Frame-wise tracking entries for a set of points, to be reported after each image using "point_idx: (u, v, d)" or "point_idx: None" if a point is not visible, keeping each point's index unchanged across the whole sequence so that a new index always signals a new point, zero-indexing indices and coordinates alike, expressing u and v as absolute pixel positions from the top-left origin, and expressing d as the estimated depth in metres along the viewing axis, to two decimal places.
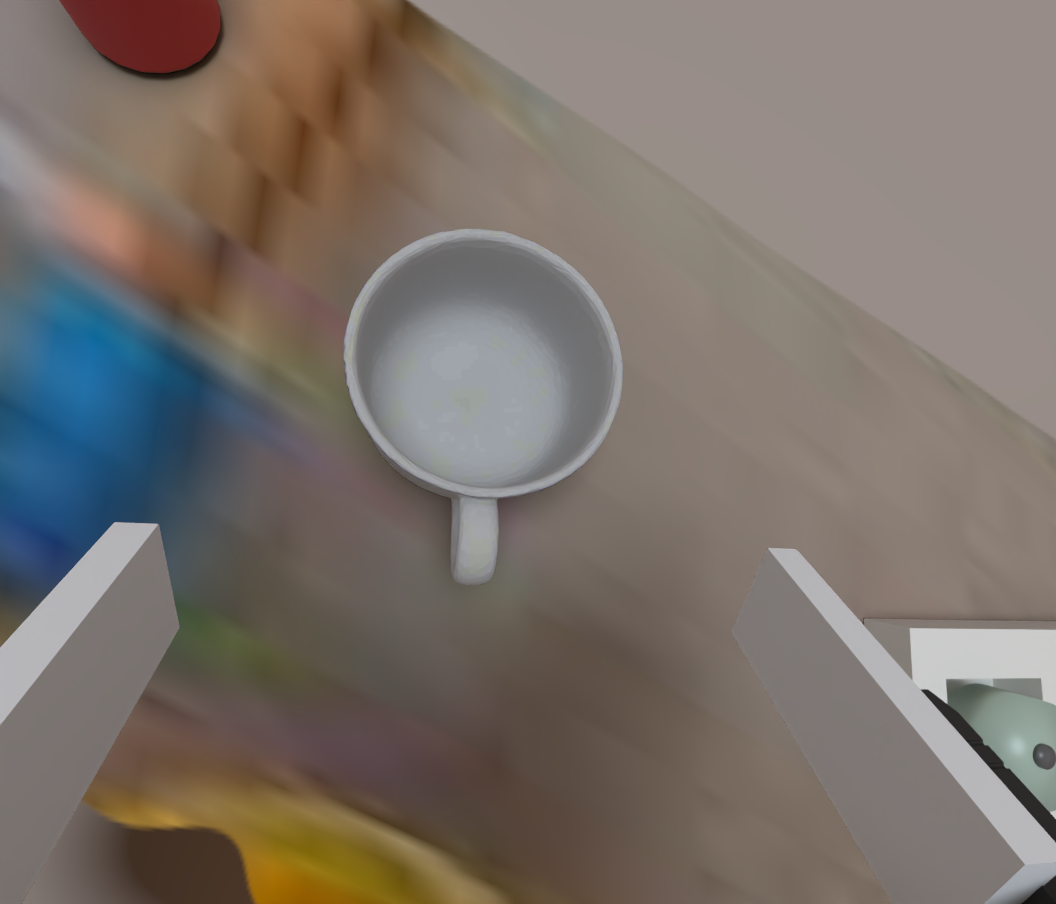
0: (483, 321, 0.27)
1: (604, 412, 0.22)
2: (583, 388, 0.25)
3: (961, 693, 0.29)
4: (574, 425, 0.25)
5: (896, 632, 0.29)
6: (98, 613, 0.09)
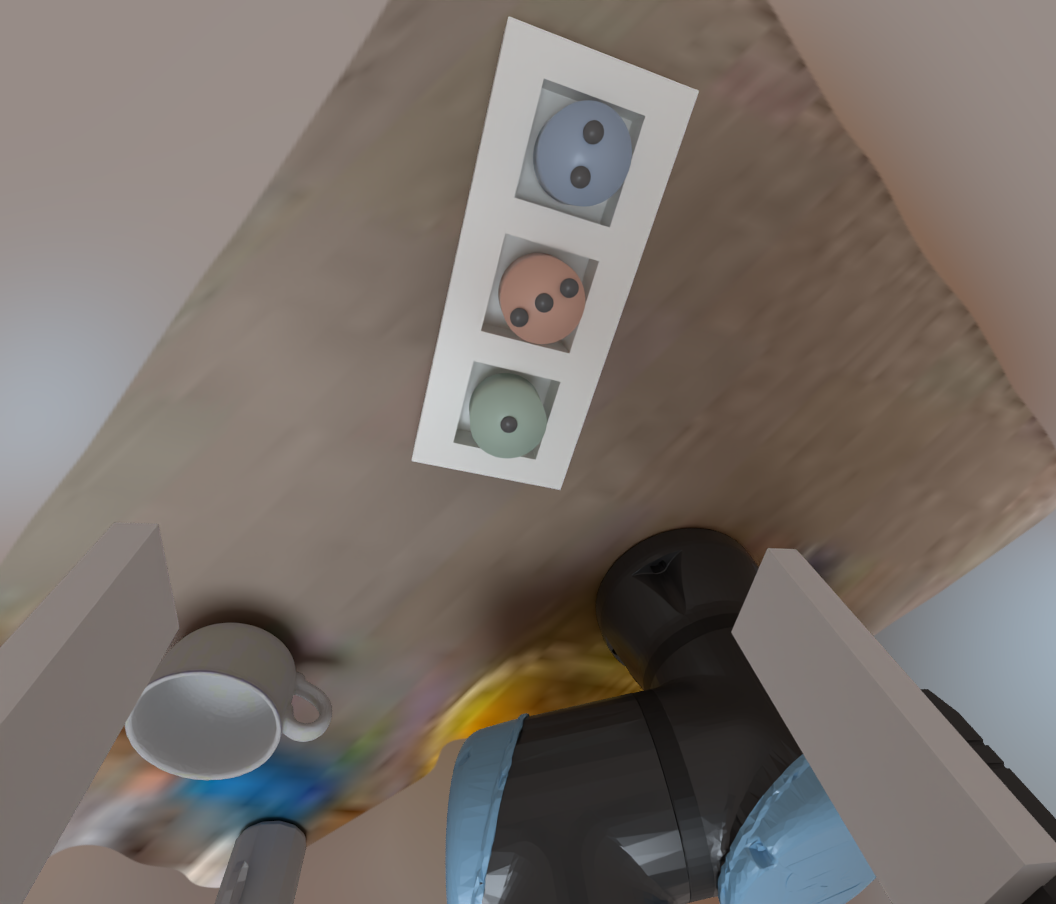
0: None
1: None
2: None
3: None
4: None
5: None
6: (98, 613, 0.09)
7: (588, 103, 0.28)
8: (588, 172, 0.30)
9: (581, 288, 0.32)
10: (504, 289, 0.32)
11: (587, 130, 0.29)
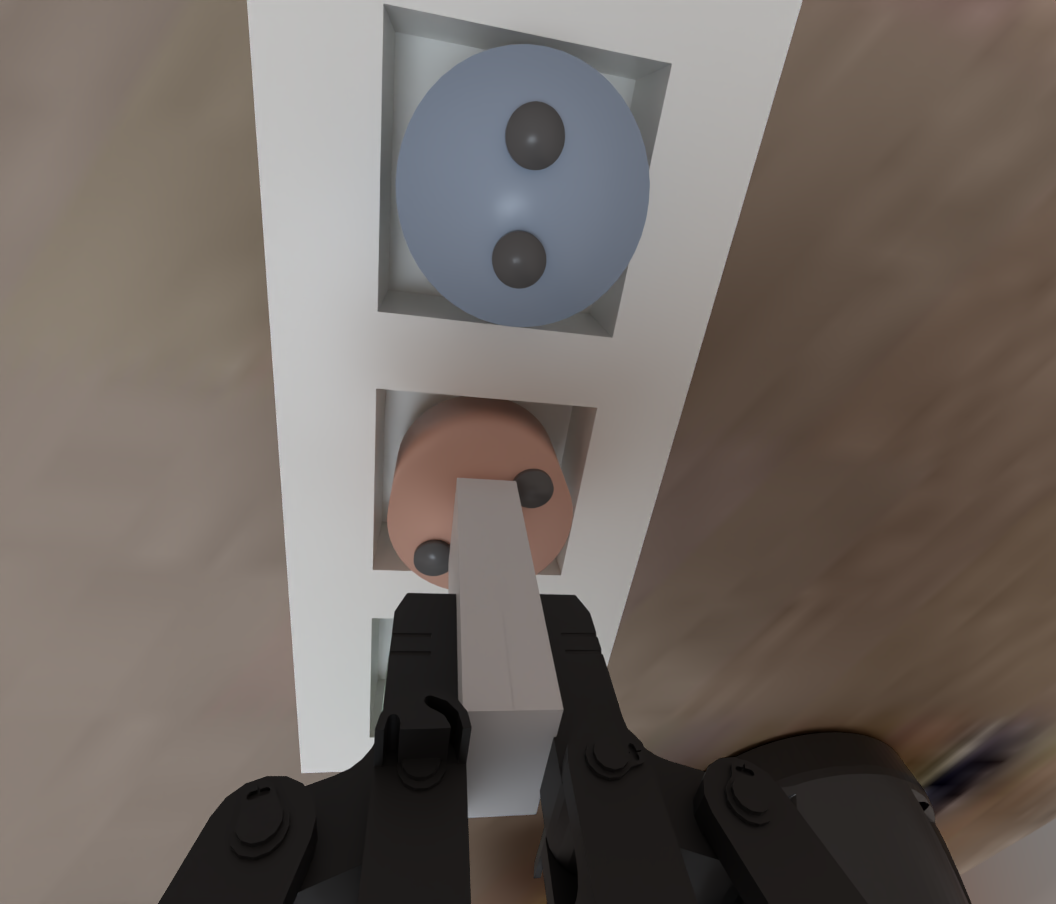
0: None
1: None
2: None
3: None
4: None
5: None
6: (492, 537, 0.12)
7: (507, 54, 0.10)
8: (537, 243, 0.11)
9: (560, 482, 0.14)
10: (389, 512, 0.14)
11: (517, 134, 0.10)
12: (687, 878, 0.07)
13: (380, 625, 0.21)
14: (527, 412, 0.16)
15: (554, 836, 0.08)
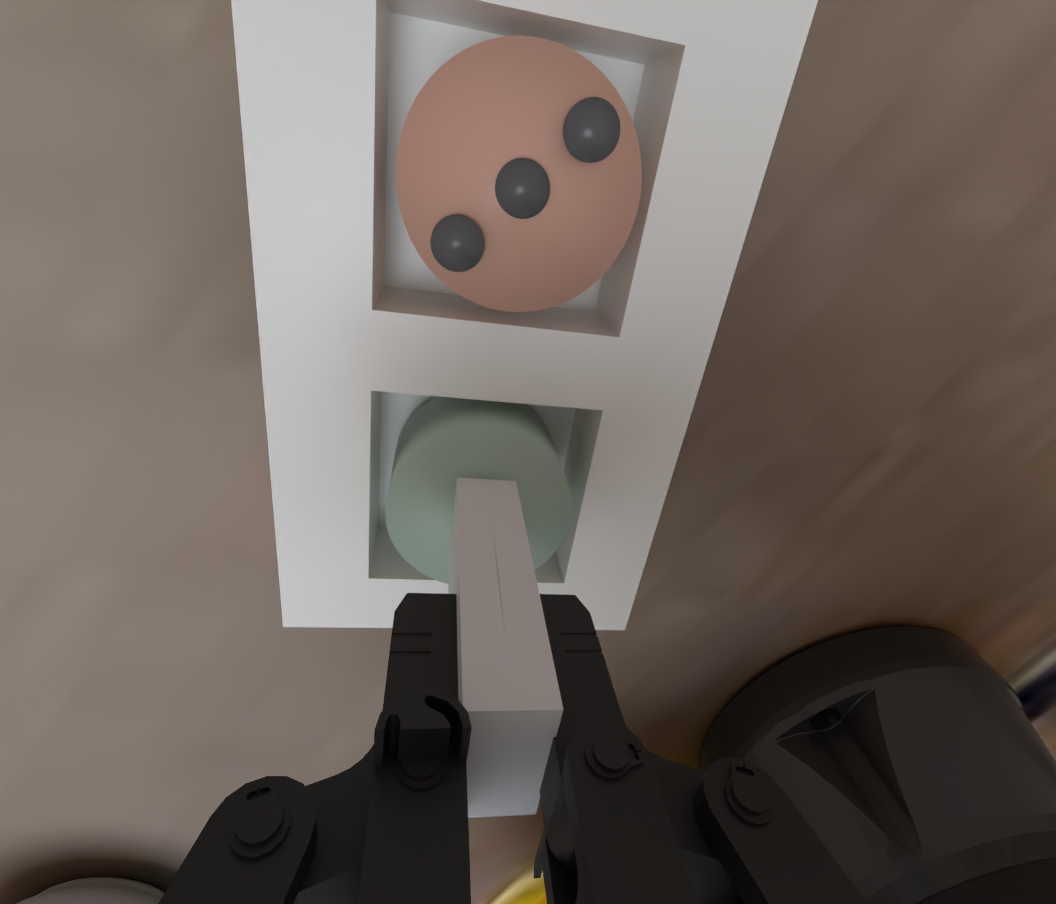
0: None
1: None
2: None
3: None
4: None
5: None
6: (492, 537, 0.12)
7: None
8: None
9: (627, 128, 0.11)
10: (398, 162, 0.11)
11: None
12: (686, 877, 0.07)
13: (381, 446, 0.17)
14: None
15: (554, 836, 0.08)
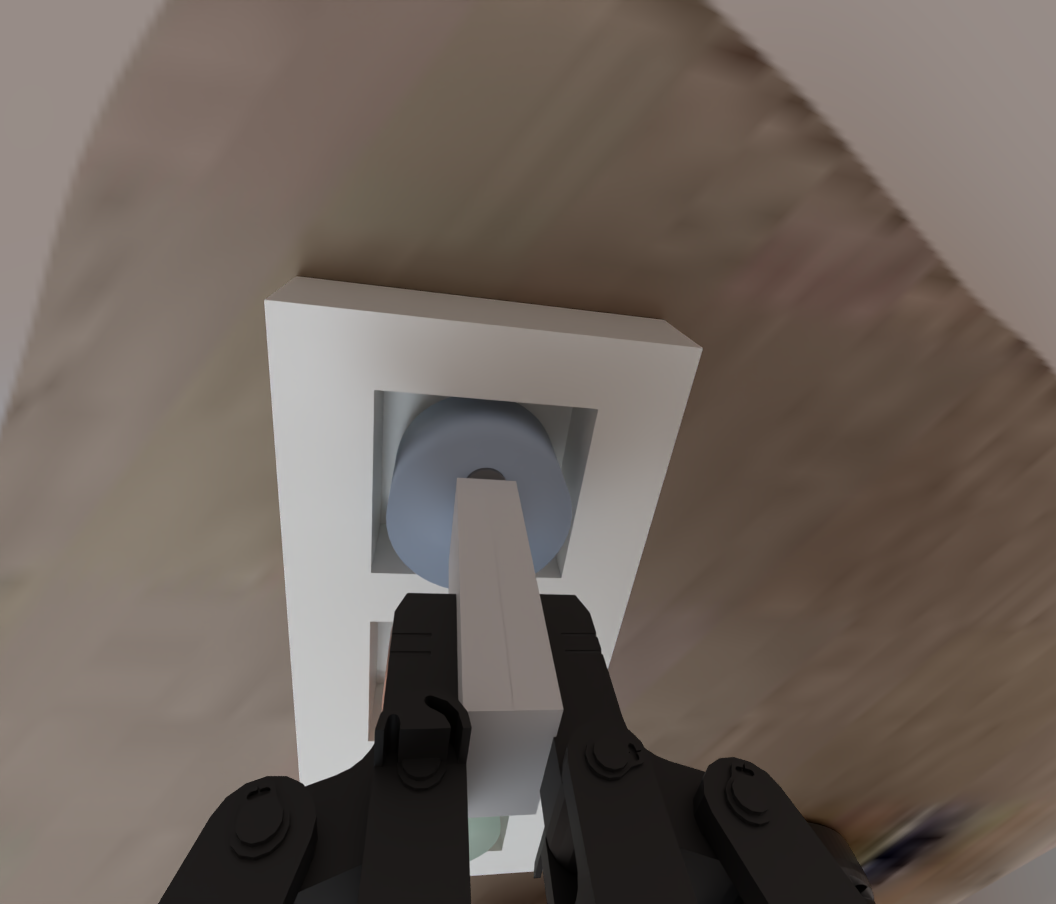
0: None
1: None
2: None
3: None
4: None
5: None
6: (492, 538, 0.12)
7: (464, 444, 0.14)
8: None
9: None
10: (383, 701, 0.18)
11: None
12: (687, 878, 0.07)
13: None
14: None
15: (554, 836, 0.08)
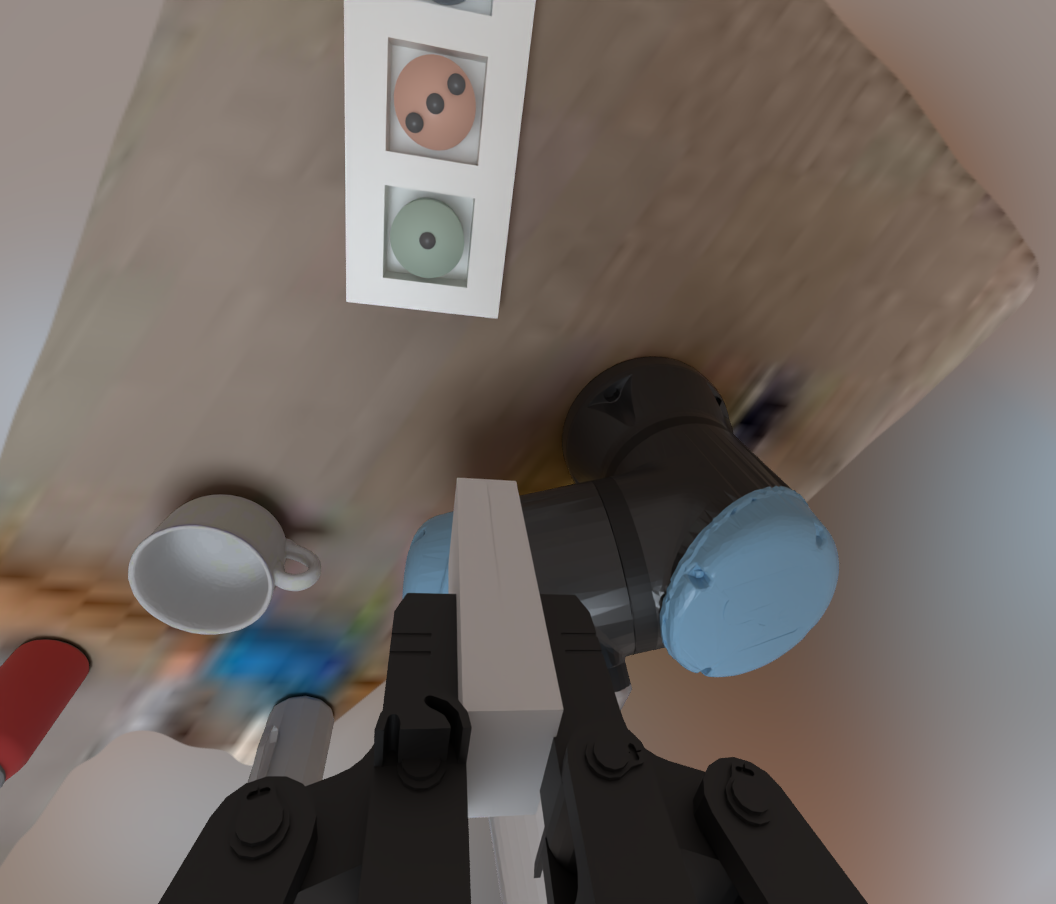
0: (181, 533, 0.48)
1: None
2: None
3: None
4: None
5: None
6: (492, 537, 0.12)
7: None
8: None
9: (468, 83, 0.33)
10: (394, 94, 0.33)
11: None
12: (686, 878, 0.07)
13: (388, 227, 0.40)
14: None
15: (554, 836, 0.08)
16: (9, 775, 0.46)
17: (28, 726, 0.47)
